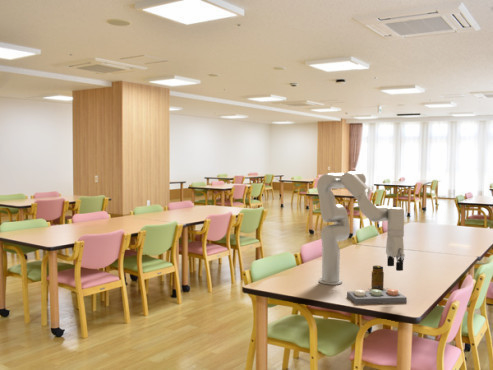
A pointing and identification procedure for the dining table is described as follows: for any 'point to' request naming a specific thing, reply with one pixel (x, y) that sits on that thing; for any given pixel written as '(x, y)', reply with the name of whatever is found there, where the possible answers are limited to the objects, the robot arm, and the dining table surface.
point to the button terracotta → (392, 292)
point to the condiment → (378, 278)
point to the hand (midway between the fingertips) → (395, 268)
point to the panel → (376, 298)
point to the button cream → (359, 293)
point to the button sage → (376, 292)
